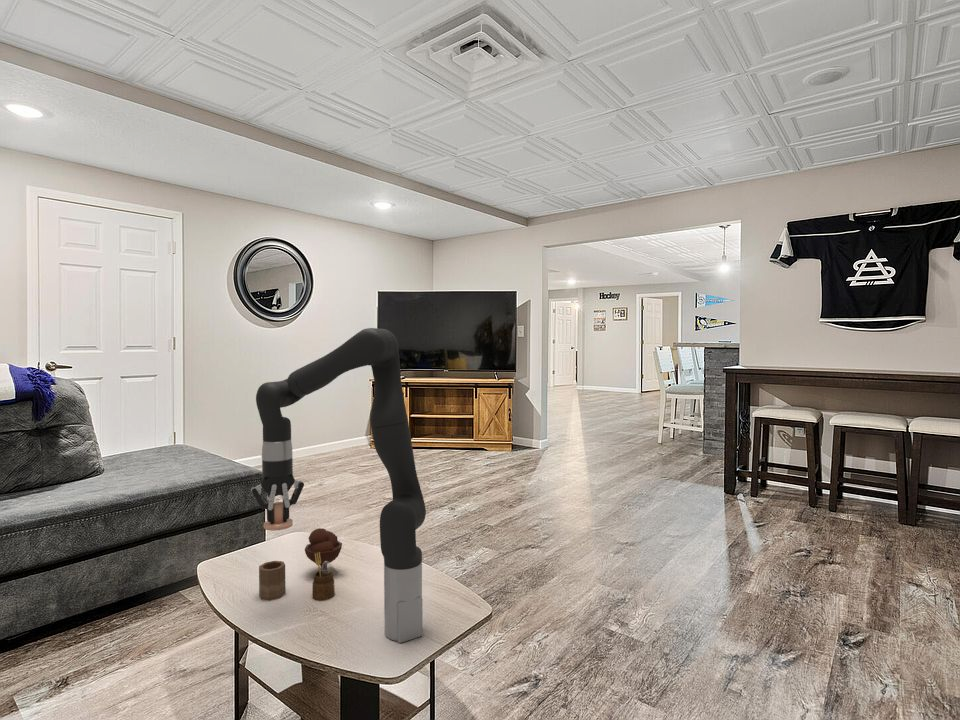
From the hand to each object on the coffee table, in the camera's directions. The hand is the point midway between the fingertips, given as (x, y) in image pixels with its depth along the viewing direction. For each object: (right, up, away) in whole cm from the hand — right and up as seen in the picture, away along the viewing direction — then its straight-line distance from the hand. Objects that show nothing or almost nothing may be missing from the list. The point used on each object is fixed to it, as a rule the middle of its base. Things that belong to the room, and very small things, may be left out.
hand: (278, 521), depth 142 cm
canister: (-5, -24, +8) cm, 25 cm away
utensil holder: (+10, -24, +8) cm, 27 cm away
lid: (0, -1, 0) cm, 1 cm away
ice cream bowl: (+6, -24, +22) cm, 33 cm away
